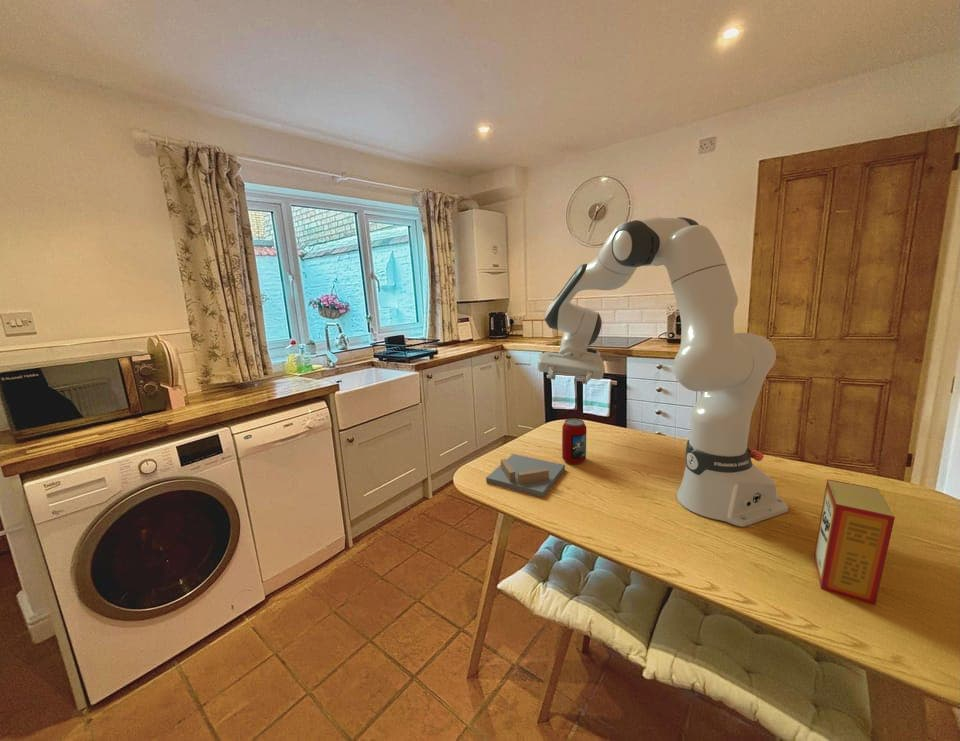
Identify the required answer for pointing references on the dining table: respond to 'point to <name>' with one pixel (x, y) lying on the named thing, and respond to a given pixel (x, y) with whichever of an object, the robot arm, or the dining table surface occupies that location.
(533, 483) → the v stop plate
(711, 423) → the robot arm
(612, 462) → the dining table surface
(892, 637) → the dining table surface
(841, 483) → the baking soda box
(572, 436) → the beverage can
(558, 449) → the dining table surface
